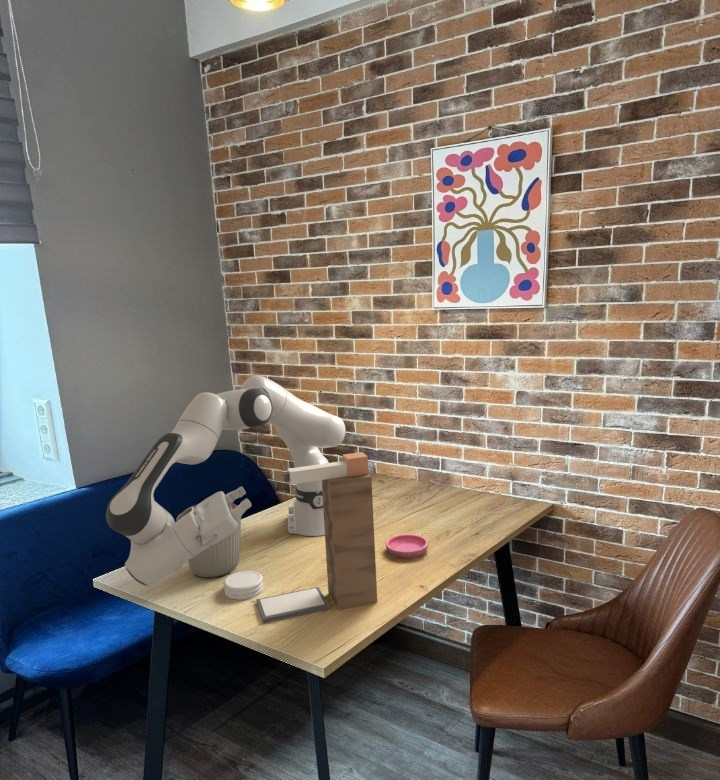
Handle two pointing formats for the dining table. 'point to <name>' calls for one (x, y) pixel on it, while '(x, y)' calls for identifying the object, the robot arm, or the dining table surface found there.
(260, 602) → the writing board
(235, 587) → the coaster
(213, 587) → the dining table surface
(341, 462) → the marker
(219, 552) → the canister
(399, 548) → the saucer
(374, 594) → the walnut stand
